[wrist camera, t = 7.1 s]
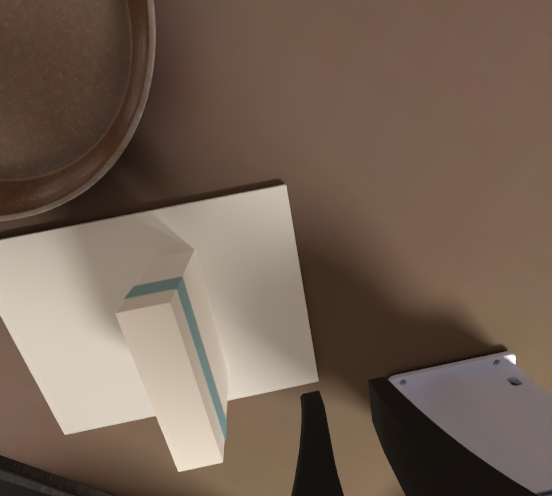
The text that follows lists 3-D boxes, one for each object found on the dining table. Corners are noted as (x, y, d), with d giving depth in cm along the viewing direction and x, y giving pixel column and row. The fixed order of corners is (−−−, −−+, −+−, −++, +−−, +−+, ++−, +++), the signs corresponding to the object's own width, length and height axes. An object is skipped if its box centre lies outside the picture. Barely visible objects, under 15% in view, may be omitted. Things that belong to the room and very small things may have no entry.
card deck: (195, 248, 19) (170, 300, 13) (230, 372, 22) (224, 462, 16) (156, 256, 19) (113, 312, 13) (196, 379, 22) (177, 472, 16)
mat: (285, 184, 18) (286, 184, 18) (317, 377, 23) (318, 381, 23) (-31, 245, 18) (-37, 247, 17) (67, 429, 22) (64, 434, 22)
